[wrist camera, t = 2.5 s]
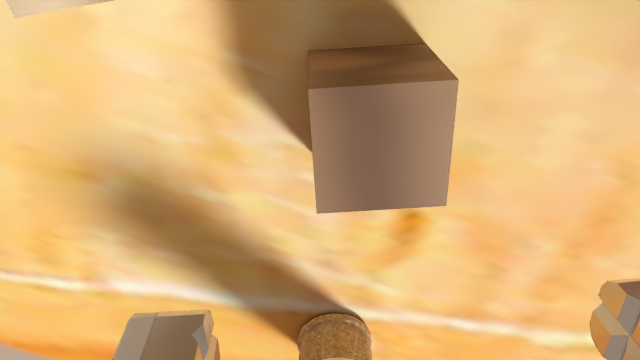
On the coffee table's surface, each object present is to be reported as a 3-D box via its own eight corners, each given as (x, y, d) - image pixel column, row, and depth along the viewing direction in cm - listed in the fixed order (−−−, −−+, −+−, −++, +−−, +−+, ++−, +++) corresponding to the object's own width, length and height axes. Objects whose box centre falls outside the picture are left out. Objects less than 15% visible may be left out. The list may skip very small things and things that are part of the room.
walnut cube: (425, 42, 19) (458, 79, 15) (419, 148, 22) (446, 205, 18) (308, 50, 20) (307, 89, 15) (315, 154, 22) (316, 213, 18)
